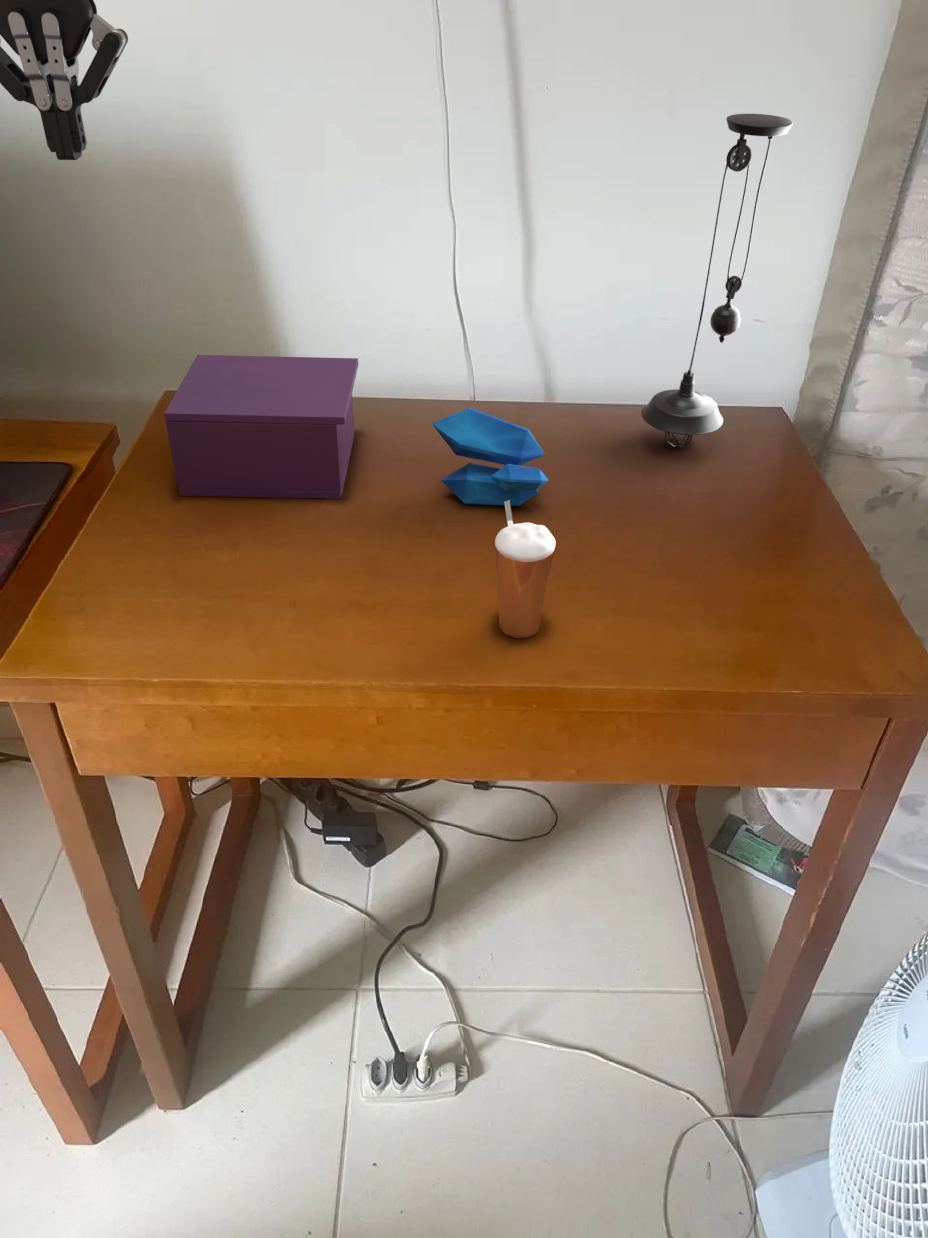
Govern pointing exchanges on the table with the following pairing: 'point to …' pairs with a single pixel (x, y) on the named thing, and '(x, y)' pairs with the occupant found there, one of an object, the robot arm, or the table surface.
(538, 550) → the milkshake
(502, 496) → the gemstones
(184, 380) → the lid
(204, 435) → the box
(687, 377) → the light fixture
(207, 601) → the table surface
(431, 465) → the table surface
